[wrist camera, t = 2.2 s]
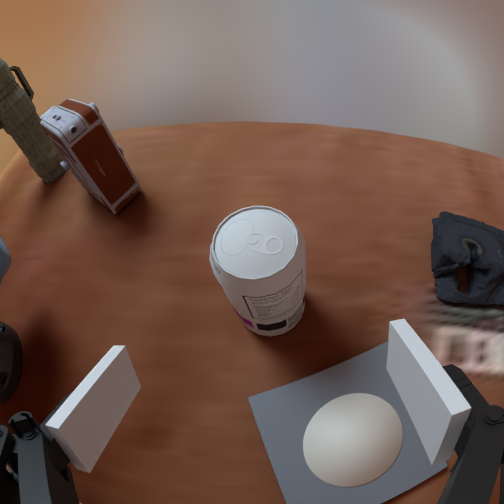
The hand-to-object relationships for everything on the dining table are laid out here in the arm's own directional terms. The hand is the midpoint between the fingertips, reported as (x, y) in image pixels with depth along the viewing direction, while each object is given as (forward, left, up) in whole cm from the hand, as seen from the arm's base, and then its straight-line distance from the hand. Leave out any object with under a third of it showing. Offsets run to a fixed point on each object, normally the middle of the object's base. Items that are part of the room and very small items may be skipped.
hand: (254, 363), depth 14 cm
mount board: (+6, -8, -21) cm, 23 cm away
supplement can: (+3, +11, -21) cm, 24 cm away
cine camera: (-19, +44, -21) cm, 53 cm away
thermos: (-35, +61, -21) cm, 73 cm away
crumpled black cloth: (+35, +3, -22) cm, 41 cm away
